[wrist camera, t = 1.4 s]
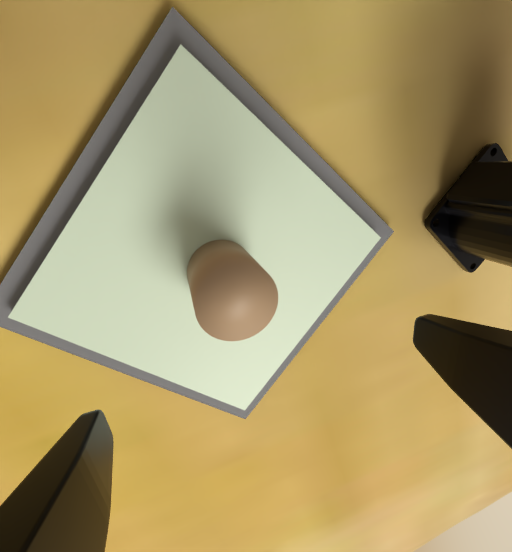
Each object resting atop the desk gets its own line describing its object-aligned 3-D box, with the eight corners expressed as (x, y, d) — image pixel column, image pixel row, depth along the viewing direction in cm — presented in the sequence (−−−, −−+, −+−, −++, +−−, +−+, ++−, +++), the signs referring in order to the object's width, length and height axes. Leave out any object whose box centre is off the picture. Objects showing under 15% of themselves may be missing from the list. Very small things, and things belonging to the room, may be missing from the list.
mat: (388, 229, 19) (393, 231, 19) (243, 413, 21) (245, 419, 20) (172, 12, 12) (172, 6, 12) (-16, 313, 14) (-21, 318, 14)
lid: (374, 235, 18) (436, 256, 14) (242, 403, 20) (263, 466, 16) (180, 49, 12) (188, -9, 8) (13, 311, 14) (-49, 373, 10)
